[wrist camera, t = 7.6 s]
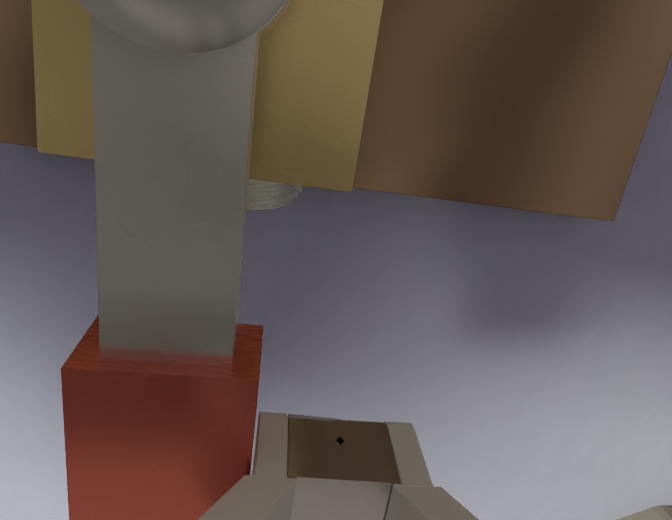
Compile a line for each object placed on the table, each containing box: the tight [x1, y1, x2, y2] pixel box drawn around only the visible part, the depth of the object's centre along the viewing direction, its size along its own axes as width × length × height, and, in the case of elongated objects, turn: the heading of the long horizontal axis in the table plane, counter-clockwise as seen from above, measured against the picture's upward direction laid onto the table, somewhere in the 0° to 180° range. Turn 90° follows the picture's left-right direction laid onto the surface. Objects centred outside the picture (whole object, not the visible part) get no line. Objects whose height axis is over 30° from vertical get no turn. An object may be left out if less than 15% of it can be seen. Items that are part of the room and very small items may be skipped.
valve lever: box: [61, 0, 291, 520], centre depth 8 cm, size 13×3×2 cm, turn 172°
